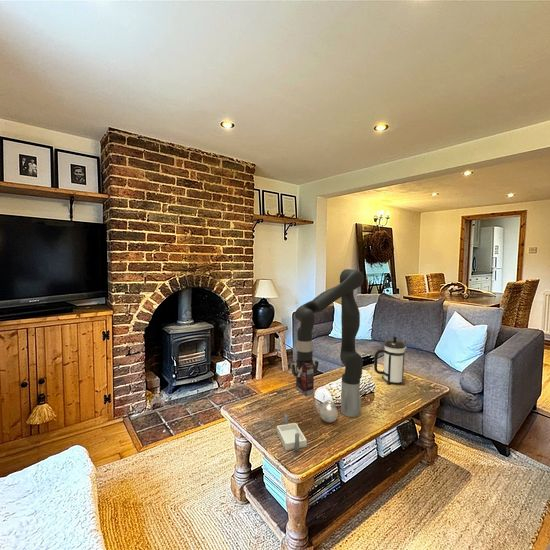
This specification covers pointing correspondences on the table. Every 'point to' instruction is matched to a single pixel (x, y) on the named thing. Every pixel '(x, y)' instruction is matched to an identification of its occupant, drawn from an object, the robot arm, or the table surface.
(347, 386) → the robot arm
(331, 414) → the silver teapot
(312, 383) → the supplement box
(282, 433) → the holder caddy
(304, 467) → the table surface
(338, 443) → the table surface
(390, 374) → the coffee press
